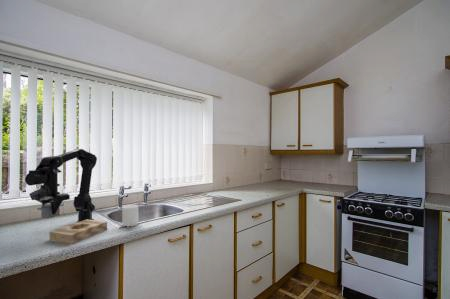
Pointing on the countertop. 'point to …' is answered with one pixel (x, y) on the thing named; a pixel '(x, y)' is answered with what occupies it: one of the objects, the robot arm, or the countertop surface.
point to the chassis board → (78, 231)
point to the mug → (130, 215)
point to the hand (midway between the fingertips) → (50, 213)
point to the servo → (48, 211)
